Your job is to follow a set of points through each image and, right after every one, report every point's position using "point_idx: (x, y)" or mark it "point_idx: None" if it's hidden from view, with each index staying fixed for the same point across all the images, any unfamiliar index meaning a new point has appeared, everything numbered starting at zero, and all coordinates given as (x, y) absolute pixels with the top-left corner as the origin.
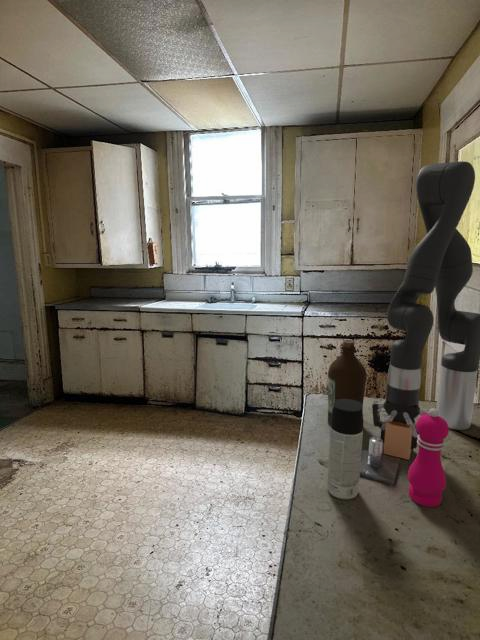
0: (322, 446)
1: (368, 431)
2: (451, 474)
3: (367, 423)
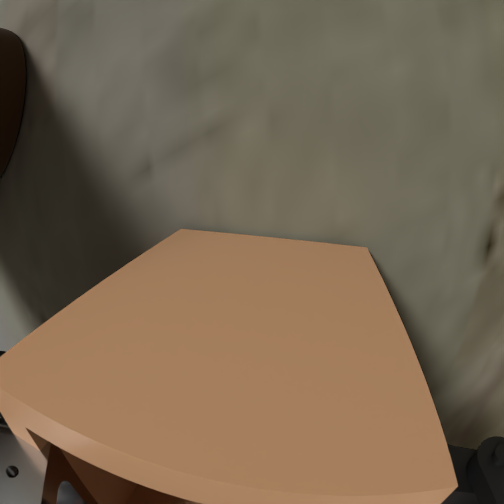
0: (5, 348)
1: (61, 107)
2: (497, 408)
3: (56, 13)
